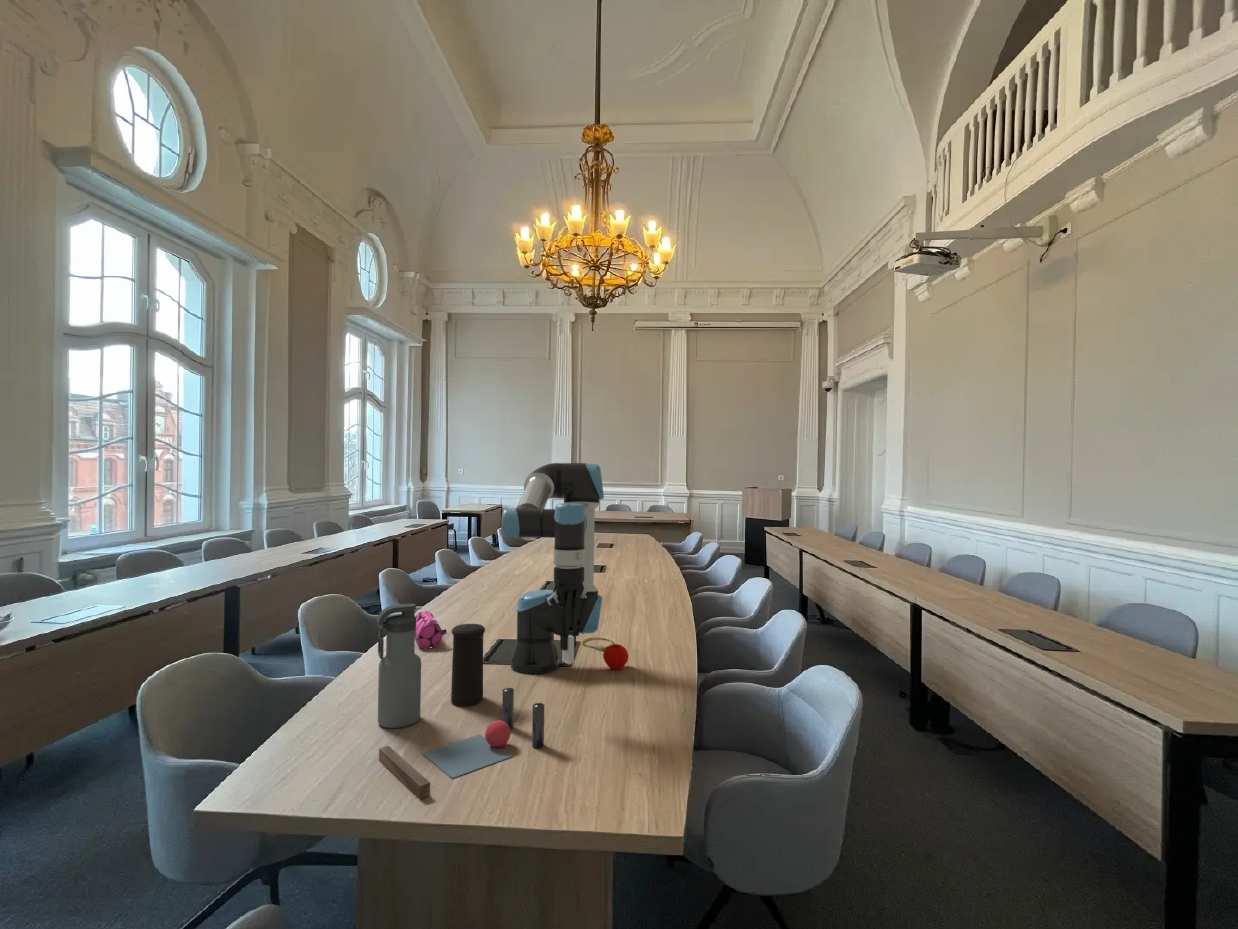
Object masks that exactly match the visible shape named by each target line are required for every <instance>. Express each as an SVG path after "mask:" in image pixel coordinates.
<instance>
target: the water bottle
mask: <svg viewBox="0 0 1238 929" xmlns="http://www.w3.org/2000/svg"><path fill="white" fill-rule="evenodd" d="M415 610H417V604H415V603H401V604H392V605H389V606H387V607H384V609H382V610H381V611H380V613H379V614H378V617H377V620H376V625H377V628H378V638H377V642H378V643H377V654H378V657H379V659H380V661H379V663H378V682H377V683H378V687H377V691H378V692H377V693H378V694H377V723H378V724H379V725H380V726H381V727H384V728H387V729H401V727H402V728H405V727H408V726H409V727H410V726H412V725H413V724H416V723H417V722H418V721H419V719H420V717H421V697H422V696H421V695H422V694H421V693H422V692H421V691H422V690H421V689H422V658H421V657H420V656H419V655H418V654H417V653H415V646H416V645H415V643H416V639H415V630H416V617H415V614H416V613H415ZM396 613H399V614H396ZM392 614H395V615H392ZM384 629H385V633H386V638H385V639H386V641H384ZM384 642H385V643H386V644H385V647H384ZM384 648H386V649H385V650H386V652H385V653H386V654H385V656H384ZM411 724H412V725H411Z"/></svg>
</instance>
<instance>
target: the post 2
mask: <svg viewBox="0 0 1238 929" xmlns="http://www.w3.org/2000/svg"><path fill="white" fill-rule="evenodd" d="M531 731H532V734H531V735H532V736H531V737H532V738H531V739H532V740H531V747H532V748H533V749H537V750H540V749H542V748H544V746H545V704H544V703H542V702H538V703H534V704H532V730H531Z"/></svg>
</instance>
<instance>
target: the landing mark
mask: <svg viewBox="0 0 1238 929" xmlns="http://www.w3.org/2000/svg"><path fill="white" fill-rule="evenodd" d="M421 754H422V755H423V756H424V757H425V758H426V759H427V760H428V761H430V762H431V763H432V764H433V765H435V766H436V767H437V768H438V769H439V770H441V771H442V772H443V773H444V774H446V775H447V776H448V777H449V778H450V779H452V780H453V779H455V778H459V777H461V776H463V775H467V774H469V773H472V772H475V771H477V770H478V771H479V770H480V769H483V768H486V767H489V766H492V765H495V764H497V763H500V762H503V761H506V760H508V759H511V758H513V757H514V756H513V755H512V754H511V753H509V752H508V751H506V750H504V749H503V748H502V747H492V746H491V745H489V744H488V742H487V741H486V737H485V736H483V735H482V734H477V735H474V736H471V737H467V738H465V739H461V740H459V741H455V742H452V743H449V744H445V745H443V746H439V747H435V748H434V749H430V750H426V751H424V752H421Z"/></svg>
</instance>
